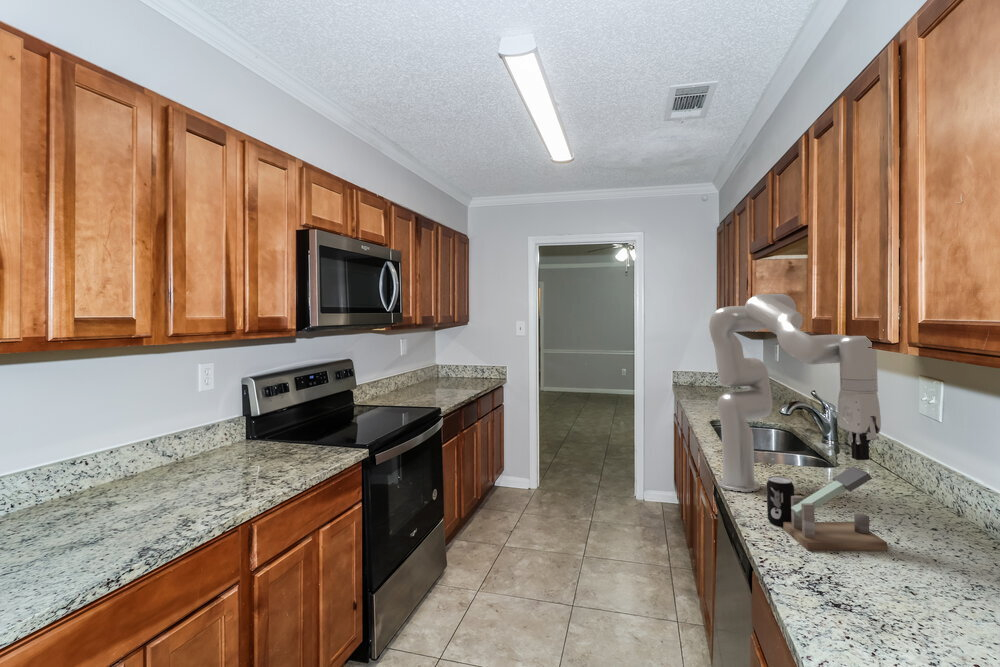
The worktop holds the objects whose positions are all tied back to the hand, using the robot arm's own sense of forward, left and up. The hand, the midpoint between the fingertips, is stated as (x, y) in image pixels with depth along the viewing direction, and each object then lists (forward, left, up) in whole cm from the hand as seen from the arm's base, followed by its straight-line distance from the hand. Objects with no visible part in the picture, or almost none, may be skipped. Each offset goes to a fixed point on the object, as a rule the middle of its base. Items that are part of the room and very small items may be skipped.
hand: (860, 458), depth 122 cm
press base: (0, -7, -20) cm, 21 cm away
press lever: (0, -7, -9) cm, 12 cm away
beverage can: (-11, -15, -21) cm, 27 cm away
